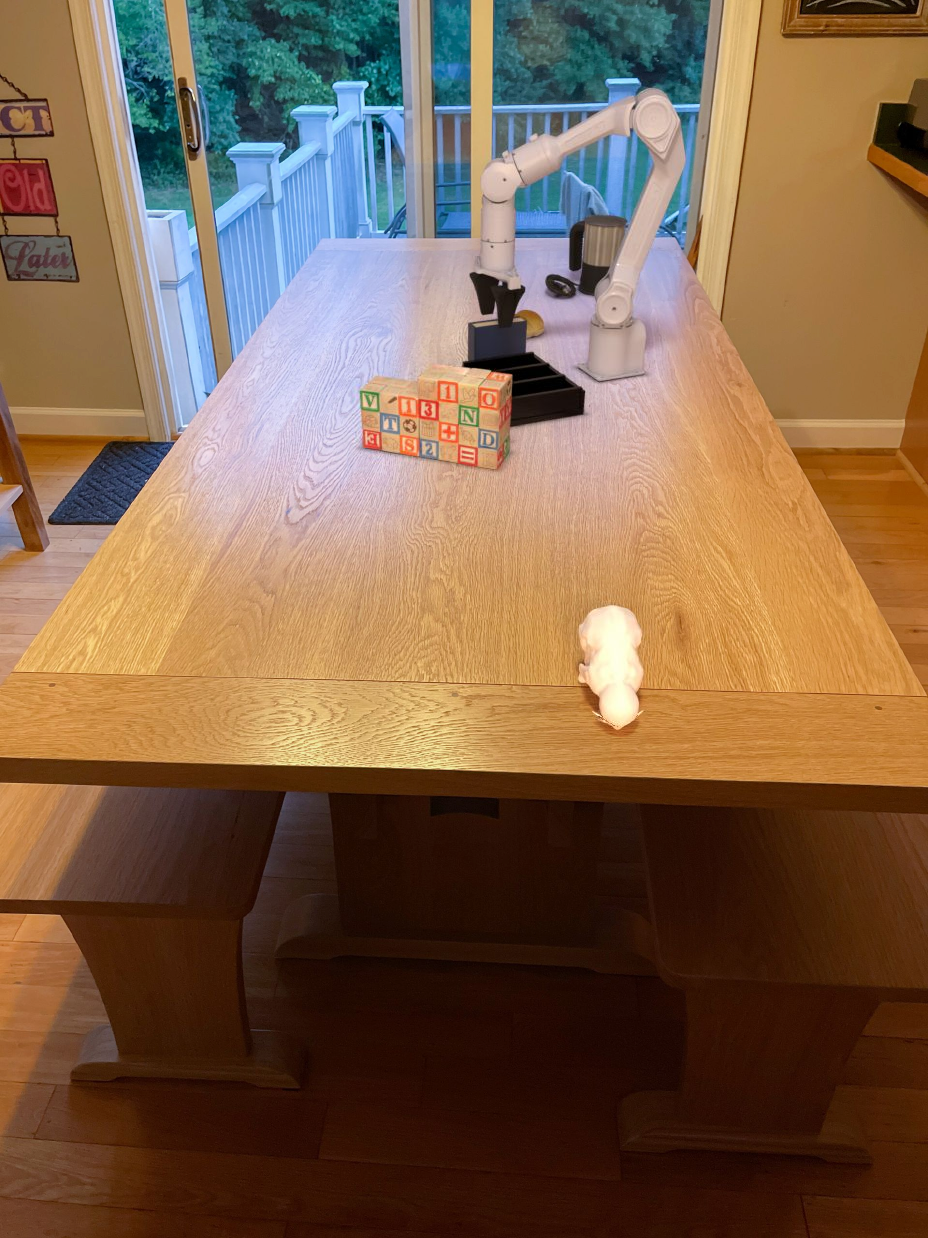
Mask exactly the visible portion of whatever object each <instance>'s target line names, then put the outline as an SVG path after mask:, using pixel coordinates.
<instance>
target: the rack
mask: <svg viewBox="0 0 928 1238" xmlns="http://www.w3.org/2000/svg"><path fill="white" fill-rule="evenodd" d="M461 362H462V363H461V365H462V366H461V367H464V368H470V369H471V368H476V369H484V370H491V372H497V373H504V374H511V375H512V393H511V395H512V401H511V402H512V403H511V419H510V428H511V427H518V426H524V425H530V424H535V423H541V422H547V421H552V420H553V421H554V420H558V419H565V418H570V417H577V416H582V415H584V413H585V402H586V390H585V389H584V387H582V386H581V385H579V384H577V383H575V382H574V381H573V380H572V379H570V378H568V377H567V375H566V374H564V373H562V372H560V371H559V370H558V369H556V368H555V367H554V366H552V365H551V364H550V363H549V362H547V361H545V360H544V359H543V358H541V357H540V356H538V355H537V354H536V353H535V352H534V351H533V350H532V351H526V352H525V353H518V354H511V355H504V356H497V357H490V358H483V359H476V360H469V361H468V360H464V361H461Z"/></svg>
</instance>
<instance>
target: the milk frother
mask: <svg viewBox="0 0 928 1238" xmlns="http://www.w3.org/2000/svg"><path fill="white" fill-rule="evenodd" d="M627 224H628V219H627V218H625V217H622V216H619V215H614V214H613V215H612V214H592V215H587V216H585V217H584V218H583V220H579V221H577V222H575V223H574V224H572V226H571V228H570V230H569V237H568V238H569V240H568V241H569V242H568V269H569V271H571V272H577V271H578V272H579V271H580V270H581V271H580V277H579V280H578V281H579V284H578V283H576V282H574V281H573V280H570V279H569V278H567V277H565V276H563V275H562V276H561V274H554V273H551V274H547V275H546V276H545V279H544V282H545V286H546V288H547V290H549V291H550V292H551V293H553V294H555V295H556V297H564V298H568V297H573V296H575V295H576V293H577V288H576V287H578V290H579V291H580V292H581V293H583V294H587V295H592V296H595V288H596V286H597V284H598V283H599V281H600V280H601V279H603V278H604V277H605V276H606V274H607V273H608V271H609V268H610V266H611V264H612V263H613V261H614V259H615V258H616V255H617V253H618V250H619V248H620V245H621V243H622V240H623V238H624V235H625V233H626V230H627V228H626V227H627ZM567 287H568V288H569V291H568V290H567V289H566V288H567Z"/></svg>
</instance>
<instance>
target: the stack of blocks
mask: <svg viewBox="0 0 928 1238" xmlns="http://www.w3.org/2000/svg"><path fill="white" fill-rule="evenodd" d="M511 393H512V375H511V374H504V373H497V372H491V370H484V369H476V368H471V369H470V368H464V367H462V366H455V365H446V364H438V363H431V364H430V365H428V367H427V368H426V369H425V370H424V371H423V372H422V373H421V374H420V375H419V376H418V377H417V381H415V380H411V379H404V378H397V377H396V378H393V377H388V376H381V375H375V376H373V377H372V378H371V379H370V380H369V381H368V382H367V383H366V384H365V385H363V386H362V387H361V388H360V390H359V407H360V415H361V418H360V419H361V429H362V446H363V447H362V448H366V449H372V450H379V451H383V452H388V453H395V454H401V455H406V456H413V457H420V458H426V459H432V460H440V461H445V462H450V463H458V464H461V465H467V466H472V467H479V468H482V469H483V468H484V469H489V470H498V469H499V467H501V465H502V463H503V462H504V460H505V459H506V457H507V456H508V455H509V453H510V441H511V440H510V438H511V435H510V433H511V427H510V419H511V403H512V402H511V401H512V395H511Z"/></svg>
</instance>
